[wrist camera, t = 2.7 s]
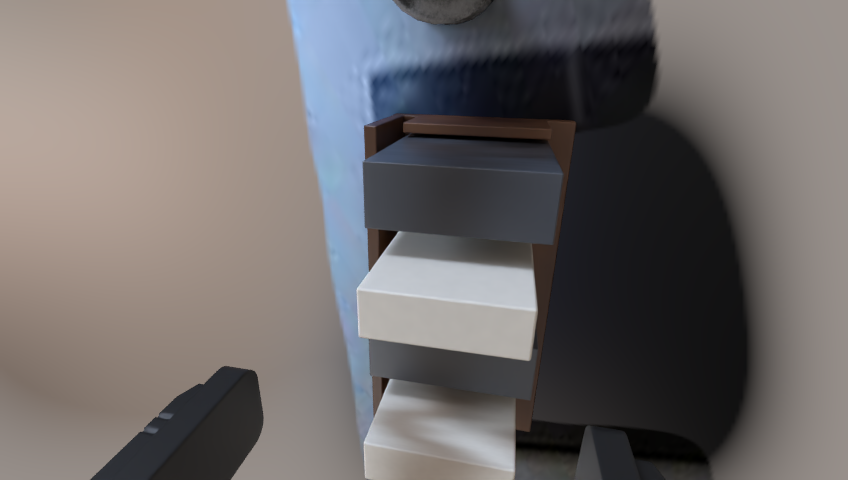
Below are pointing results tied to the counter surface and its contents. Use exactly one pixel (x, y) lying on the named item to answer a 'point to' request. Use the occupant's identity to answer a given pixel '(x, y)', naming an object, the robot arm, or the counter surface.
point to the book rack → (474, 218)
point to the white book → (452, 295)
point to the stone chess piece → (443, 10)
